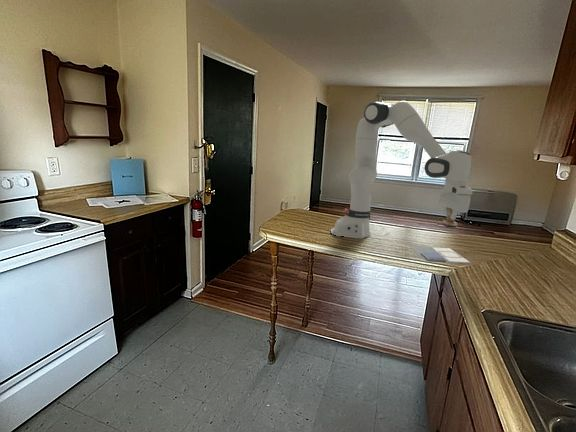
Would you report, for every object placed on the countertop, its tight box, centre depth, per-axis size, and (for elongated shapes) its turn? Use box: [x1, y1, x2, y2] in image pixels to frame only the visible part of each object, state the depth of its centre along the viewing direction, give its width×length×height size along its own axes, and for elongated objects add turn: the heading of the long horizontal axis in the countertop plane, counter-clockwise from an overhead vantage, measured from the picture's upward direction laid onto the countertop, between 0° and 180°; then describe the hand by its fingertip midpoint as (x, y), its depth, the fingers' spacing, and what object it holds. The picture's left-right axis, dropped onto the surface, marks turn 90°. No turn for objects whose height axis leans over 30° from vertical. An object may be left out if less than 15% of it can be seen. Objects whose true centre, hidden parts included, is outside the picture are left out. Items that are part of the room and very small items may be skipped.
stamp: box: [442, 208, 458, 229], centre depth 141 cm, size 4×4×8 cm
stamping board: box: [409, 245, 473, 264], centre depth 147 cm, size 20×20×2 cm
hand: (450, 218), depth 141 cm, fingers closed on stamp, 3 cm apart
